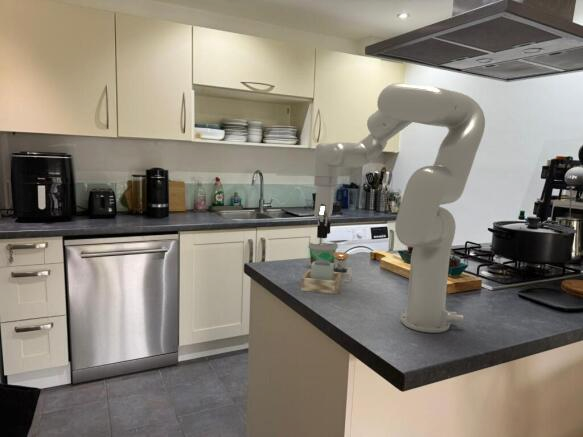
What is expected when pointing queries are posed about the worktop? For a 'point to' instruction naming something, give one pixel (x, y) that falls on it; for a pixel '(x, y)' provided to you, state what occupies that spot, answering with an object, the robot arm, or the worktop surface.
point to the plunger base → (346, 275)
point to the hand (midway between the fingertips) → (323, 235)
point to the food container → (322, 251)
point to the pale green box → (322, 270)
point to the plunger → (340, 261)
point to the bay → (321, 283)
